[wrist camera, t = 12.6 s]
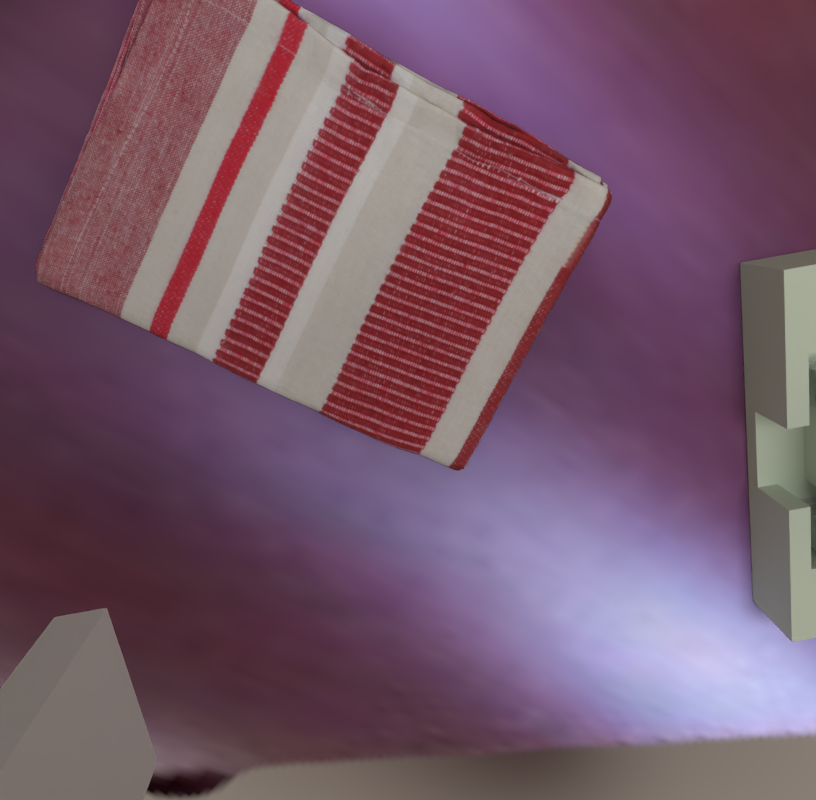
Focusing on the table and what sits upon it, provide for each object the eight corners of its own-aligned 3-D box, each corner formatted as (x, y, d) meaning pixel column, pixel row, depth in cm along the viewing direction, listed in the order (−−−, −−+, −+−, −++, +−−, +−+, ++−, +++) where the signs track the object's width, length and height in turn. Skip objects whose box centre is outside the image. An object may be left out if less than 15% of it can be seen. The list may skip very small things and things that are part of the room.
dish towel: (173, -64, 31) (155, -87, 29) (614, 187, 35) (632, 186, 33) (44, 277, 35) (18, 283, 33) (455, 470, 39) (461, 489, 36)
